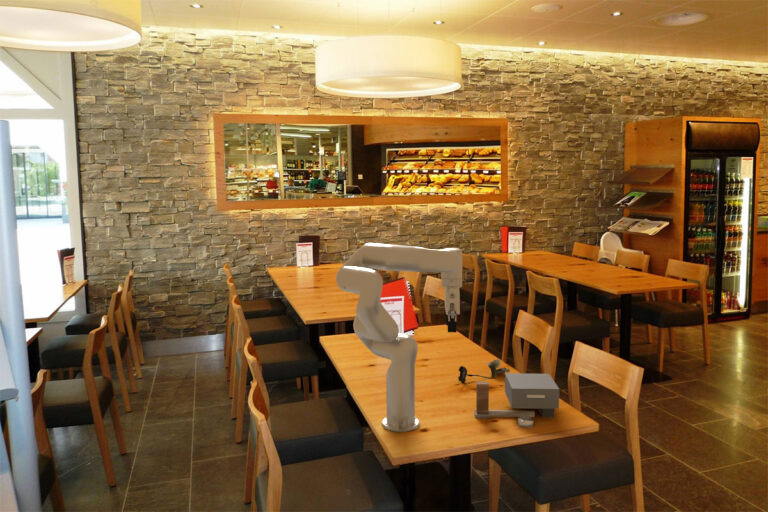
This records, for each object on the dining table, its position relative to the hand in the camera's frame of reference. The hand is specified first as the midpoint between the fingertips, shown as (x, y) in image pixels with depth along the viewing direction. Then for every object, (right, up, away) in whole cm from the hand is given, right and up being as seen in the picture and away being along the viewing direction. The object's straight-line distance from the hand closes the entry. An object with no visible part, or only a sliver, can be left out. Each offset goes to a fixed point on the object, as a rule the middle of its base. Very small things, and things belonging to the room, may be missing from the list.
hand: (451, 328), depth 216 cm
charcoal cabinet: (+28, -29, -4) cm, 40 cm away
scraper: (+18, -30, -9) cm, 35 cm away
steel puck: (+23, -31, -16) cm, 42 cm away
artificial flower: (+17, -25, +32) cm, 44 cm away
